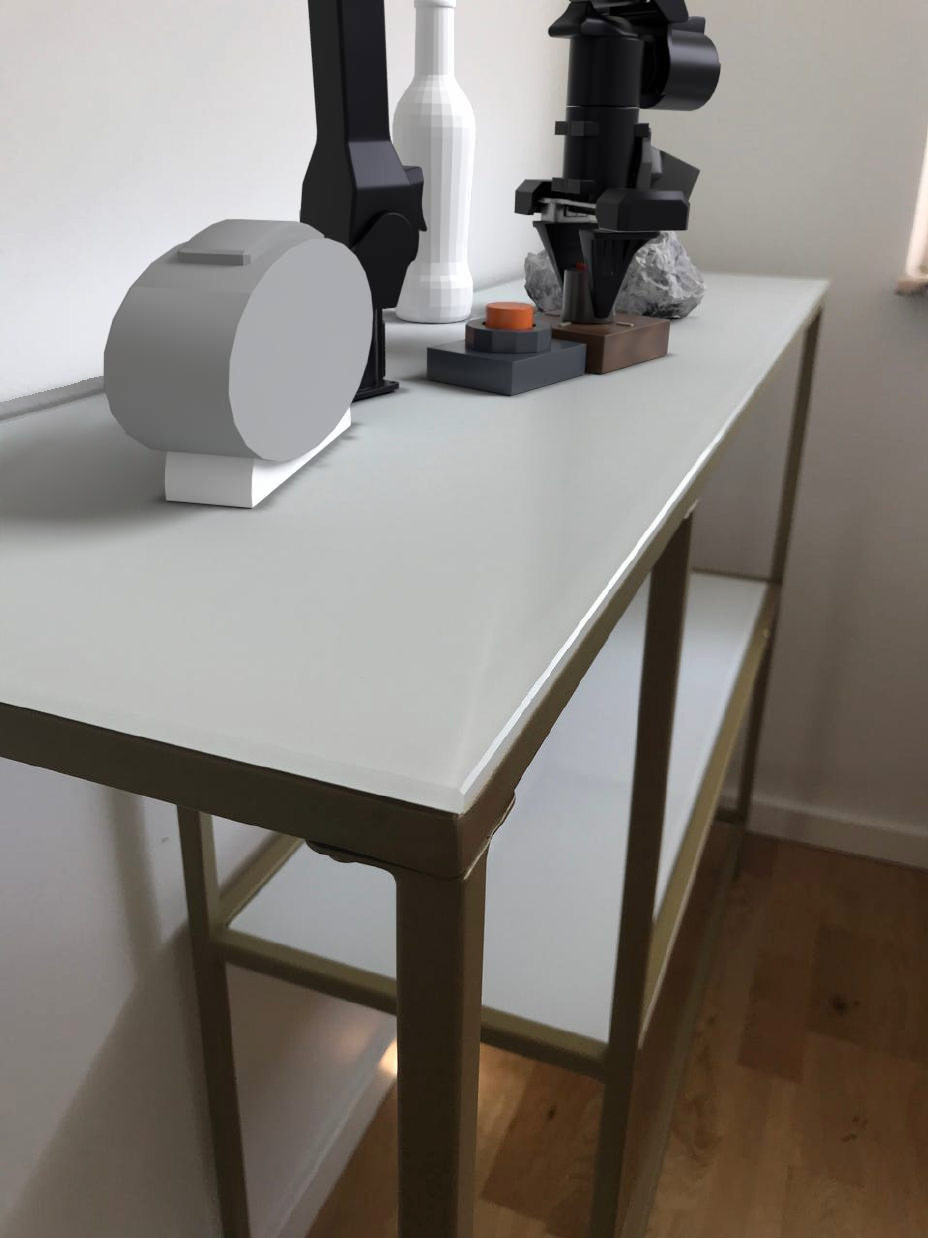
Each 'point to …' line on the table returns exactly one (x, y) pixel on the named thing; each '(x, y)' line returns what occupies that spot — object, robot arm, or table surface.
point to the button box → (506, 358)
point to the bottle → (437, 171)
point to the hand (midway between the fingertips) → (587, 313)
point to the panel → (613, 339)
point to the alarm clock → (240, 356)
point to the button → (509, 315)
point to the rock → (632, 281)
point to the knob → (579, 298)
